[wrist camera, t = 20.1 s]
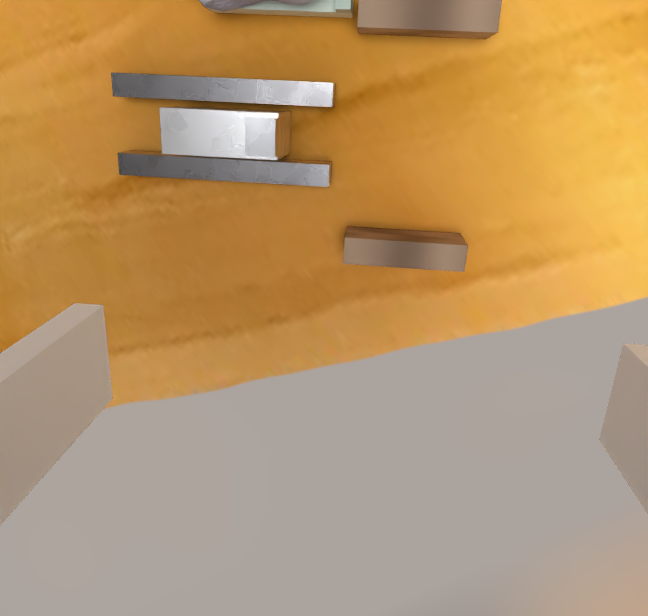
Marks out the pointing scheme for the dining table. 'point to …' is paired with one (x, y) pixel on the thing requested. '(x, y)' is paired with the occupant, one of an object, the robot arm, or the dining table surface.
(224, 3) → the stone block
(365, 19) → the brown piece
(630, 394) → the robot arm
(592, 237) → the dining table surface
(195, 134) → the grey metal block
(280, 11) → the pale green ledge block
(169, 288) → the dining table surface
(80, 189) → the dining table surface
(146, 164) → the guide
